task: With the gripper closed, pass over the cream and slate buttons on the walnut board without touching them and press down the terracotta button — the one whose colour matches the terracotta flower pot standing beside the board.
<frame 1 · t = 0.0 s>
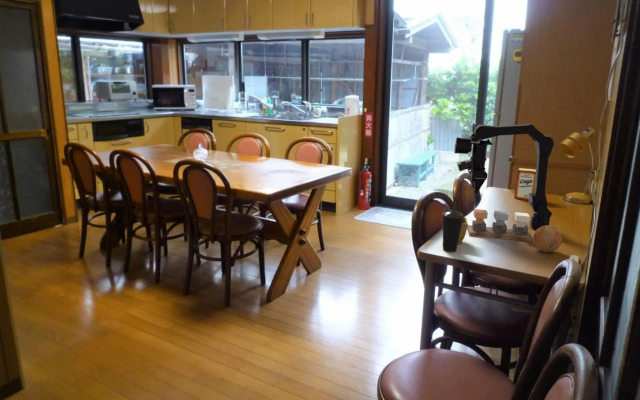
hand: (474, 190, 206), 15 cm above the table, tool pointing down, fingers open, 9 cm apart
slate button: (500, 219, 193), point 7 cm above the table, slide at 0.0 cm
walnut button board: (498, 234, 194), on the table
drinking cup: (449, 250, 175), on the table
baking soda box: (523, 198, 257), on the table
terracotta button: (480, 217, 194), point 7 cm above the table, slide at 0.0 cm
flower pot: (452, 242, 185), on the table
onion: (545, 251, 177), on the table
cream button: (521, 220, 191), point 7 cm above the table, slide at 0.0 cm
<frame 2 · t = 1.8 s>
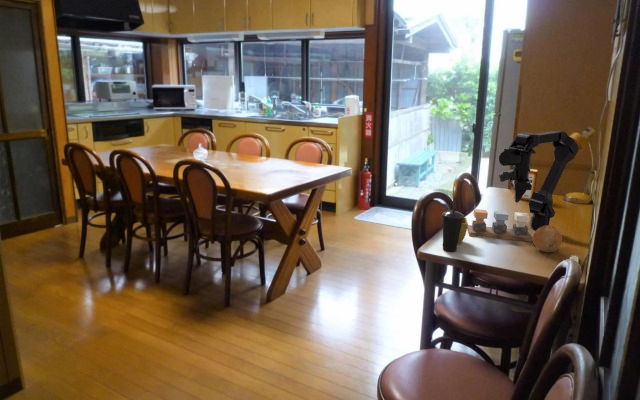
hand: (516, 202, 194), 13 cm above the table, tool pointing down, fingers closed
nothing on the table moved.
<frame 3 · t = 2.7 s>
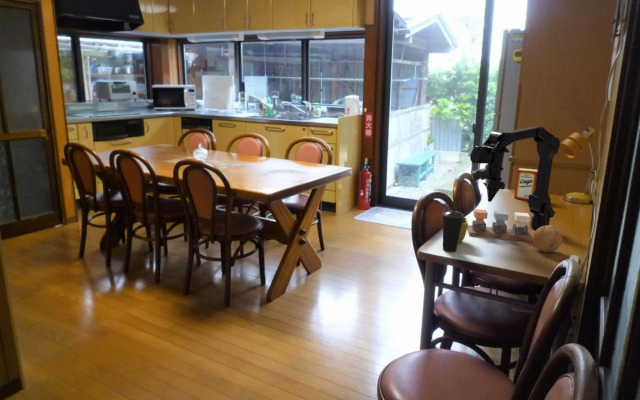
hand: (489, 201, 192), 14 cm above the table, tool pointing down, fingers closed
nothing on the table moved.
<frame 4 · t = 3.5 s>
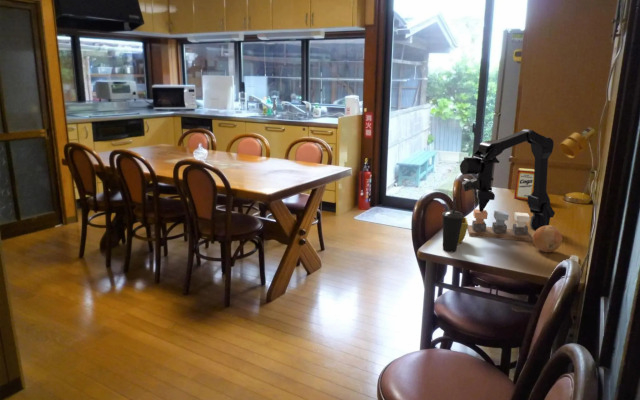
hand: (480, 211, 194), 9 cm above the table, tool pointing down, fingers closed, pressing on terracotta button
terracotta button: (479, 217, 194), point 7 cm above the table, slide at 0.1 cm, touching gripper
everything else where it was.
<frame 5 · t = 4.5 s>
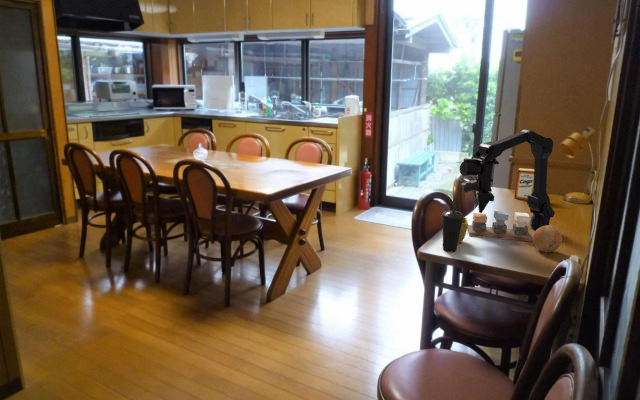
hand: (480, 212, 194), 9 cm above the table, tool pointing down, fingers closed
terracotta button: (479, 221, 195), point 5 cm above the table, slide at 1.7 cm
everything else where it was.
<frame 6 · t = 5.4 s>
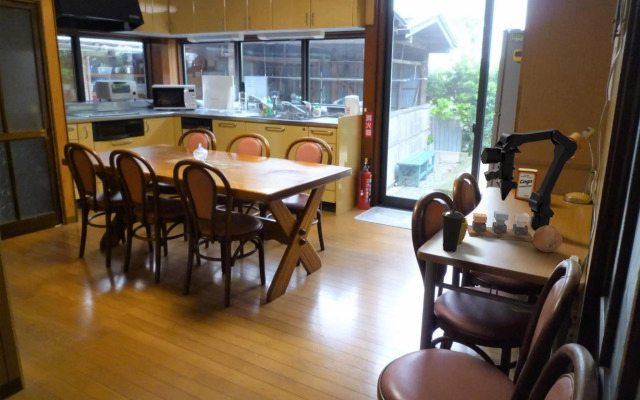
hand: (502, 200, 199), 13 cm above the table, tool pointing down, fingers closed
nothing on the table moved.
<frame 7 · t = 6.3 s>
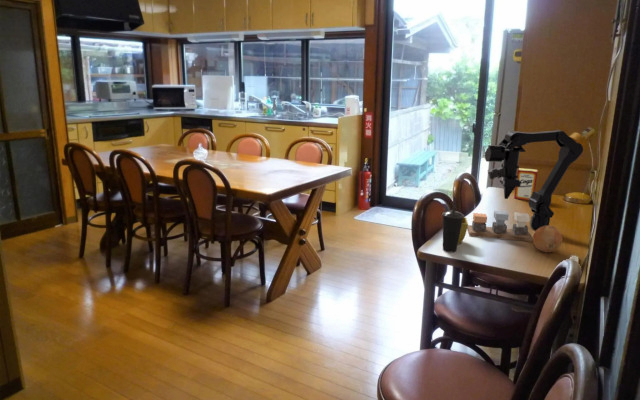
hand: (505, 198, 200), 13 cm above the table, tool pointing down, fingers closed
nothing on the table moved.
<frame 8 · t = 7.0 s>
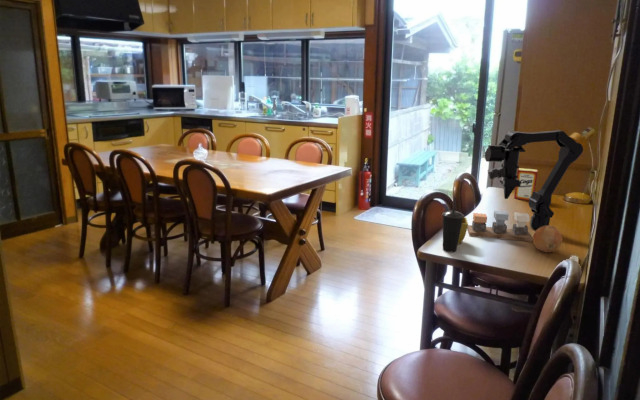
hand: (505, 198, 200), 13 cm above the table, tool pointing down, fingers closed
nothing on the table moved.
at the end: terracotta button slide at 1.7 cm; slate button slide at 0.0 cm; cream button slide at 0.0 cm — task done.
